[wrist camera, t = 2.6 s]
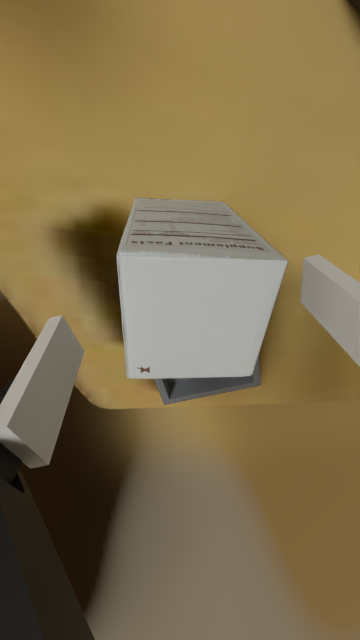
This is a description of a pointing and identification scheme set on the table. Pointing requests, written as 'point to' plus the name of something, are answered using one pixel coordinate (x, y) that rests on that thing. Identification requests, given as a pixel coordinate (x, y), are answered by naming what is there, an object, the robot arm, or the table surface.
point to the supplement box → (194, 290)
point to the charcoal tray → (204, 386)
